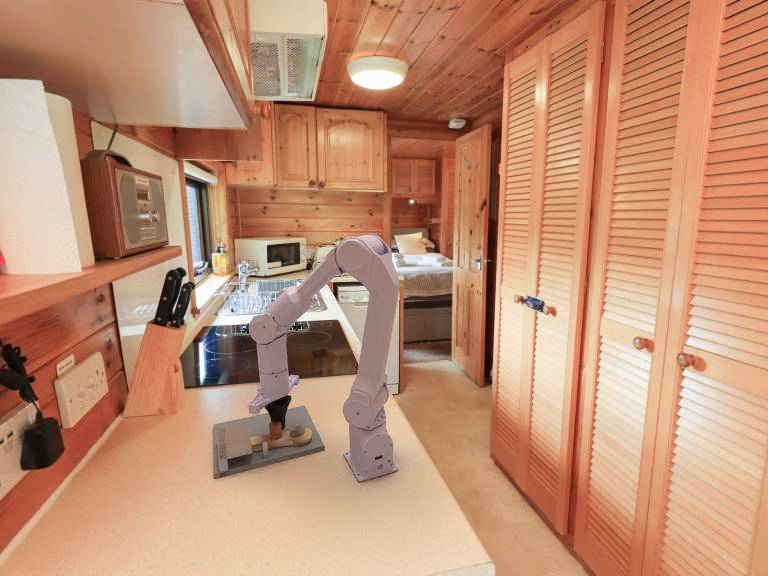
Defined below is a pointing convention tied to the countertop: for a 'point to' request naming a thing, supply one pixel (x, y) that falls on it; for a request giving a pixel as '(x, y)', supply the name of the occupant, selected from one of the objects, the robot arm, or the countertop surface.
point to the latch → (282, 437)
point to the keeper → (232, 444)
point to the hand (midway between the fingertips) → (278, 429)
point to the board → (267, 456)
